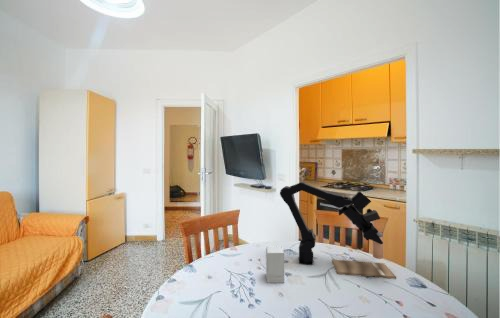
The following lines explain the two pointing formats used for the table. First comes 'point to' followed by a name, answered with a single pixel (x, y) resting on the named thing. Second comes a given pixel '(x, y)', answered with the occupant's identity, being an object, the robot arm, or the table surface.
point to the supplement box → (275, 264)
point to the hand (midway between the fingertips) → (381, 241)
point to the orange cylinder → (378, 247)
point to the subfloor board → (362, 268)
